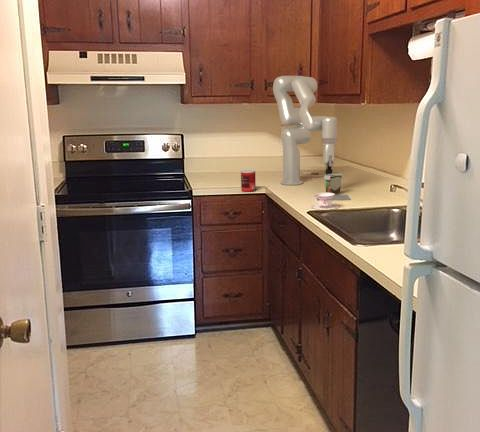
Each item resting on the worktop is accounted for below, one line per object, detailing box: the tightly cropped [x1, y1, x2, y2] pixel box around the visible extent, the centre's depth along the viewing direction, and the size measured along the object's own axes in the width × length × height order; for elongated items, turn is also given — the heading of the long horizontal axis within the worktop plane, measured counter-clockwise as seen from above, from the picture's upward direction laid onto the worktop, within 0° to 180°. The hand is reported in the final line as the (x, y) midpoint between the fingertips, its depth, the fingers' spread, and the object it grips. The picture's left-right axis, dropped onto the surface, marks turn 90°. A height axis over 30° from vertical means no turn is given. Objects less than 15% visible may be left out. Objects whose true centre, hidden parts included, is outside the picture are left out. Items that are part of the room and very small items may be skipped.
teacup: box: [311, 192, 339, 211], centre depth 244 cm, size 12×12×6 cm
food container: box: [323, 173, 343, 195], centre depth 273 cm, size 12×6×10 cm, turn 140°
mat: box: [314, 194, 352, 201], centre depth 265 cm, size 12×16×1 cm
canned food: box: [240, 169, 257, 193], centre depth 287 cm, size 8×8×11 cm
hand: (328, 176), depth 281 cm, fingers closed
